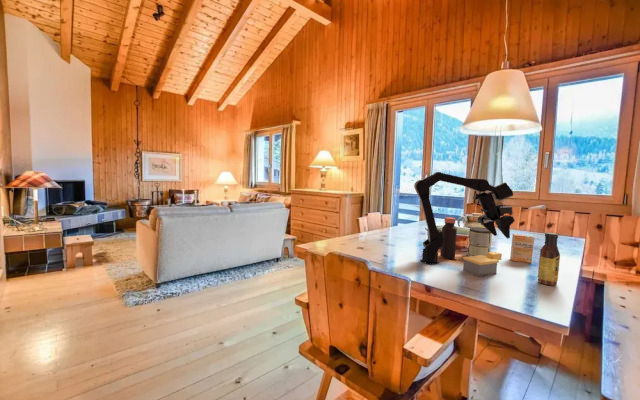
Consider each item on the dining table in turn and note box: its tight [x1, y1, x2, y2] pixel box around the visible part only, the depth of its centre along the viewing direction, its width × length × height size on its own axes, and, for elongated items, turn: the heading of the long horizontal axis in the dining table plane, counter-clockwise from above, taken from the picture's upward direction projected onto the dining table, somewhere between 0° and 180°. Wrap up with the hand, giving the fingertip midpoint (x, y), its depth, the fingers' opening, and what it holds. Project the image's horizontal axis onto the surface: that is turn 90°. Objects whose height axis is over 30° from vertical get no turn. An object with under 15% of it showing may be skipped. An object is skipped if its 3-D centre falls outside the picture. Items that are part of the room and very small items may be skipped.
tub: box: [462, 259, 498, 278], centre depth 127 cm, size 10×8×5 cm
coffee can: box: [467, 226, 493, 257], centre depth 153 cm, size 10×10×14 cm
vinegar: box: [440, 216, 458, 260], centre depth 148 cm, size 7×7×20 cm
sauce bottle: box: [537, 232, 561, 287], centre depth 116 cm, size 7×6×20 cm
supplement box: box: [509, 233, 535, 264], centre depth 145 cm, size 8×5×13 cm, turn 68°
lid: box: [462, 251, 503, 265], centre depth 128 cm, size 16×8×3 cm, turn 112°
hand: (502, 236), depth 134 cm, fingers open, 9 cm apart
